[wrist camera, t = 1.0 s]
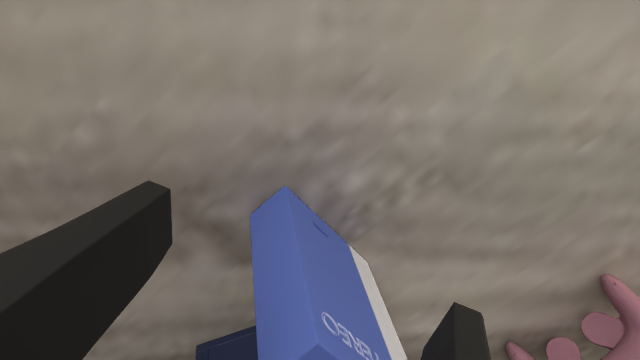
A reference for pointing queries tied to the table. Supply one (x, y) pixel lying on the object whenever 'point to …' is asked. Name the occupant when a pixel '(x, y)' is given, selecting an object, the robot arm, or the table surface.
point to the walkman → (314, 290)
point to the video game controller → (600, 329)
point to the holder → (230, 347)
